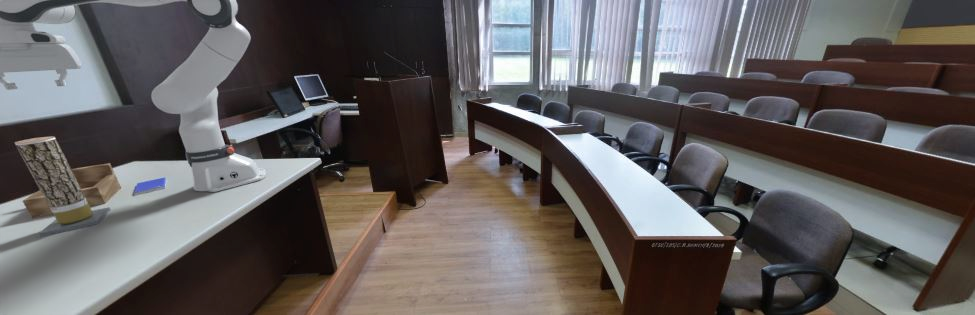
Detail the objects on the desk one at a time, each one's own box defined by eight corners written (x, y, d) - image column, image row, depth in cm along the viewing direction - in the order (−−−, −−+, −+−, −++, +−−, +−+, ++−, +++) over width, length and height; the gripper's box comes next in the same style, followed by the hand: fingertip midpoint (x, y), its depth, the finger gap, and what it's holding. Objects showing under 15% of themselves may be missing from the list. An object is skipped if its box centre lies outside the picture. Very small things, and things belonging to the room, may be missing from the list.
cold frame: (121, 187, 123) (110, 163, 119) (105, 203, 110) (92, 176, 107) (57, 199, 114) (43, 173, 111) (32, 217, 102) (15, 189, 98)
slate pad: (110, 209, 105) (109, 207, 105) (97, 224, 96) (95, 221, 96) (59, 220, 99) (58, 217, 99) (40, 236, 91) (38, 233, 90)
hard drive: (164, 185, 120) (165, 177, 129) (133, 192, 115) (136, 183, 124) (166, 189, 121) (167, 180, 130) (135, 196, 116) (138, 186, 124)
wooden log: (68, 226, 94) (24, 143, 85) (52, 224, 95) (7, 142, 87) (99, 214, 100) (61, 136, 91) (84, 212, 101) (45, 136, 93)
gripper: (-60, 37, 82) (-29, 92, 87) (62, 36, 93) (84, 84, 98) (-42, 38, 87) (-14, 90, 92) (72, 36, 98) (92, 83, 102)
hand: (37, 87), depth 95 cm, fingers open, 8 cm apart
